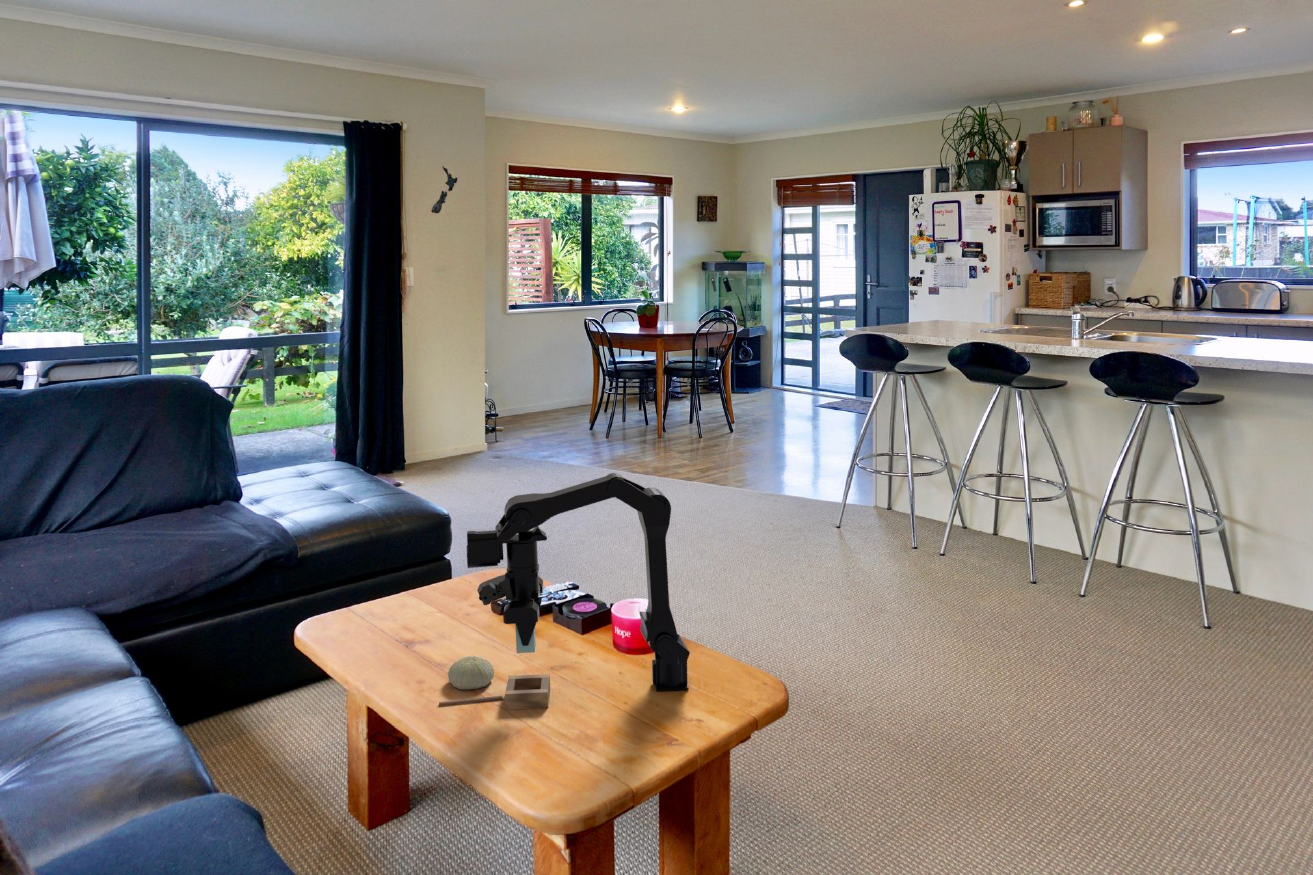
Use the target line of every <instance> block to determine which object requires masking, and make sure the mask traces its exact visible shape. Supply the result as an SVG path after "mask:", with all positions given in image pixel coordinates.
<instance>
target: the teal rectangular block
mask: <svg viewBox="0 0 1313 875" xmlns="http://www.w3.org/2000/svg"><path fill="white" fill-rule="evenodd" d="M514 626H515V642H516V645H515V646H516V649H515V651H516V654H525V653H526V654H527V653H528V654H529V653H531V654H532V653H535V651H536V647H537V640H536V639H537V638H536V627H535V628H534V631H533V634H532V637H531V639H530V642H529V645H528V646H523V645H522V642H521V639H520V636H519V633H518V630H517V627H516V624H514Z"/></svg>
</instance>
